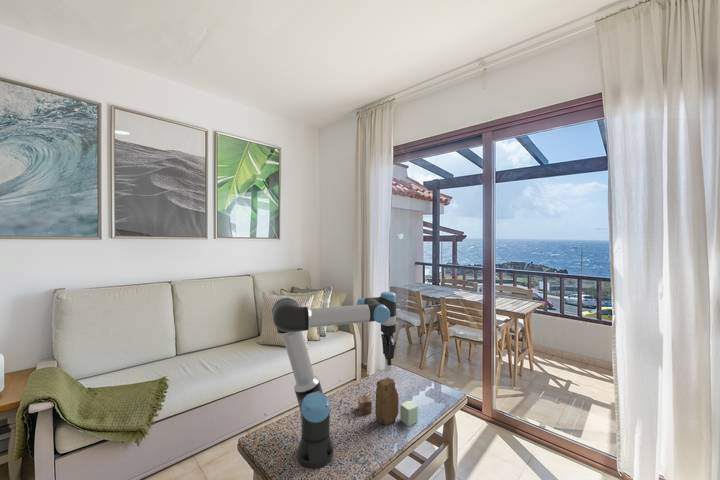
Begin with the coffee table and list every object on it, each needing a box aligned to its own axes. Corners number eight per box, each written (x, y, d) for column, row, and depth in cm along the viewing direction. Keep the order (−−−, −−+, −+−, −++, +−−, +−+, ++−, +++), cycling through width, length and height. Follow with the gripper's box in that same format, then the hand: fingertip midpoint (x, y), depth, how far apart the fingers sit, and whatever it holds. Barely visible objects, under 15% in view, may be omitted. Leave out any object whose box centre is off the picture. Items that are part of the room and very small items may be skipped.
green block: (408, 426, 146) (408, 410, 146) (400, 419, 151) (400, 404, 151) (417, 422, 149) (417, 406, 149) (409, 416, 154) (409, 400, 154)
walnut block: (359, 414, 155) (360, 402, 155) (358, 407, 161) (358, 396, 161) (371, 413, 156) (371, 401, 156) (369, 406, 162) (369, 395, 162)
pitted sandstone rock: (382, 427, 145) (382, 386, 144) (373, 419, 151) (374, 379, 151) (400, 420, 150) (400, 380, 150) (391, 412, 157) (391, 374, 156)
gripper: (400, 326, 145) (400, 375, 145) (390, 319, 157) (389, 364, 158) (386, 328, 142) (386, 377, 143) (376, 320, 155) (376, 366, 155)
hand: (388, 370), depth 150 cm, fingers closed
